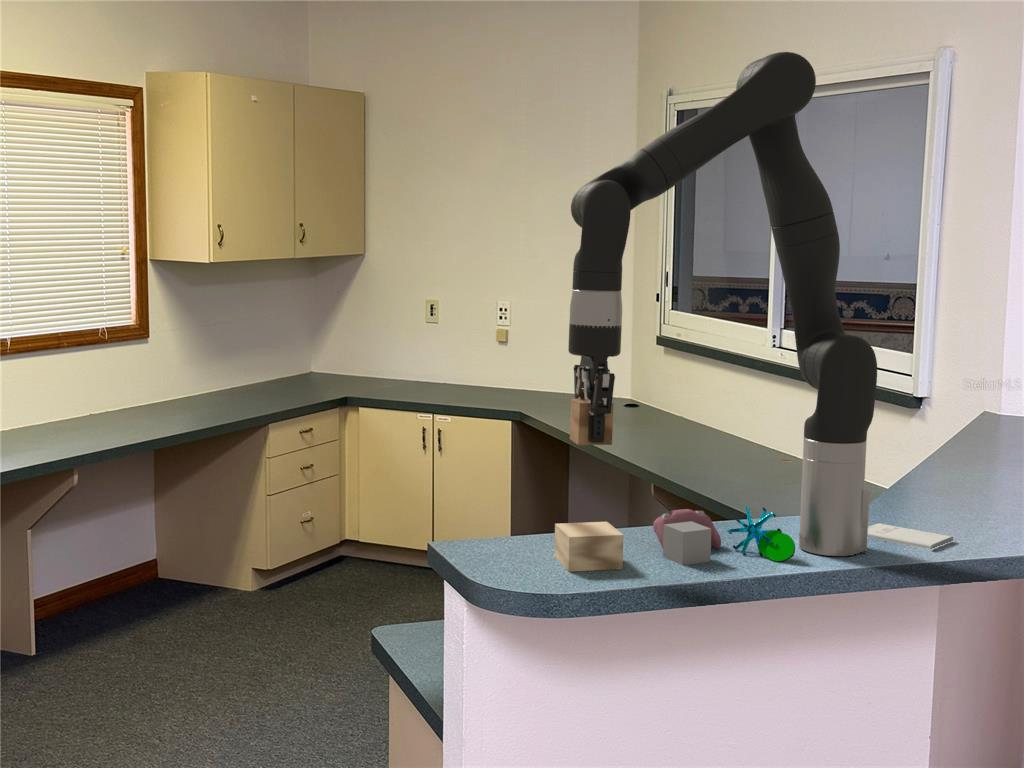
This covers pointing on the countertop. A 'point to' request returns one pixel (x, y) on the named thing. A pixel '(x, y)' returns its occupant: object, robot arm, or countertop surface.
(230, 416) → the countertop surface
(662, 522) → the video game controller
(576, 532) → the birch block
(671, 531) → the grey cube
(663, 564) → the countertop surface
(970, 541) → the countertop surface
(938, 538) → the external hard drive
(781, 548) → the stick construction toy
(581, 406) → the walnut block
